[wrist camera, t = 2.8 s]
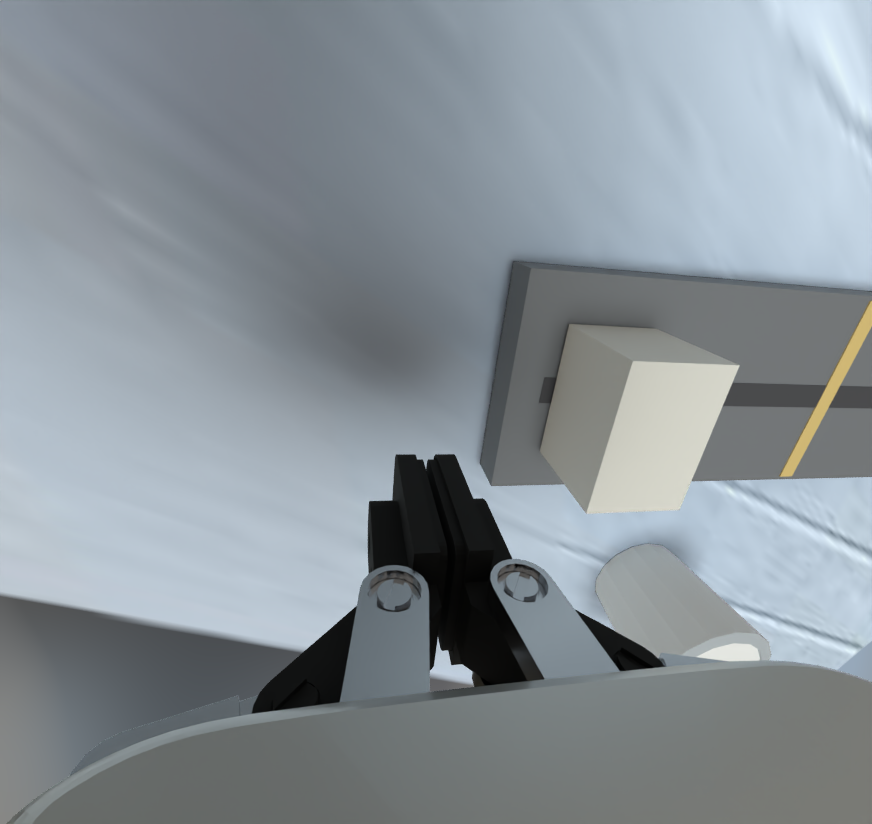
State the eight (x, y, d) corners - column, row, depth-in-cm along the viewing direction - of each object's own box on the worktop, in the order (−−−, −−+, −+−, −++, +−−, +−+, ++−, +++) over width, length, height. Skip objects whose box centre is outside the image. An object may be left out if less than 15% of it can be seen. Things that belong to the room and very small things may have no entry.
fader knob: (539, 451, 20) (586, 513, 16) (569, 323, 18) (632, 361, 14) (617, 450, 21) (679, 510, 17) (656, 328, 19) (739, 365, 15)
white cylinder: (629, 523, 27) (714, 622, 20) (703, 551, 29) (798, 647, 23) (566, 601, 29) (625, 711, 23) (639, 621, 31) (710, 726, 25)
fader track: (480, 463, 23) (491, 486, 21) (513, 260, 18) (531, 268, 17) (895, 457, 28) (933, 476, 26) (995, 302, 24) (1048, 310, 22)
